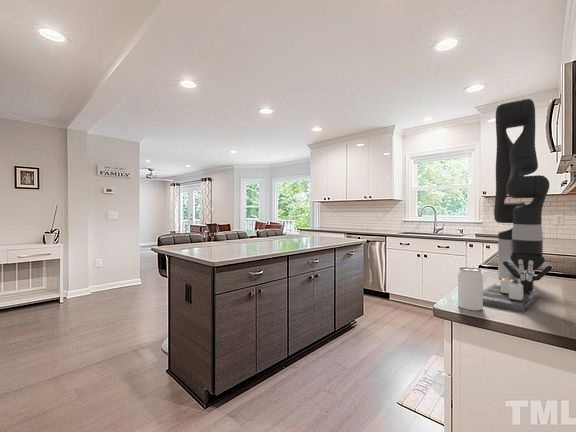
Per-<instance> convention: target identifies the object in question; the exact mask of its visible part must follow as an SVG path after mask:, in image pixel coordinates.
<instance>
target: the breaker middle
mask: <svg viewBox="0 0 576 432" xmlns="http://www.w3.org/2000/svg"><path fill="white" fill-rule="evenodd" d="M511 283H513V284H515V281H514V280H512V279H508V278H503V279H500V285H501V292H502V293H508V294H509V284H511Z"/></svg>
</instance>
